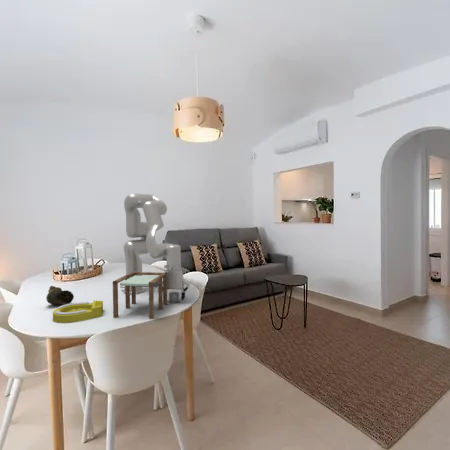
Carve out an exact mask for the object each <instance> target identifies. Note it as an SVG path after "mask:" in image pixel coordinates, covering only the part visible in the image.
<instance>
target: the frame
mask: <svg viewBox="0 0 450 450" xmlns="http://www.w3.org/2000/svg"><path fill="white" fill-rule="evenodd" d="M135 275H142V276H158V277H156V278H155V279H153V280H152V281H150V282H149V287H148V314H149V316H148V318H149V319H150V320H153V319H154V318H155V303H154V302H155V301H154V300H155V298H154V297H155V296H154V295H155V294H154V288H155V287H153V284H155V283H156V282H157V281H158V287H157V288H158V291H157V292H158V297H157V298H158V299H157V300H158V310H163V307H164V306H167V305H168V289H167V273H165V272H152V271H149V272H147V271H142V272H131V273H129V274H127V275H126V274H125V275H123V276H121V277H119V278H117V279H115V280H113V281H112V308H113V309H112V314H113V315H112V316H113V317H112V318H117V319H118V317H119V284H120V283H121V282H123V281H125V280H127V279H129V278H130V277H133V276H135ZM162 281H163V284H162ZM162 286H163V290H162ZM131 292H132V294H130V286H125V293H124V295H125V309H130V308H131V305H136V303H137V300H136V299H137V294H136V287H134V286H131Z"/></svg>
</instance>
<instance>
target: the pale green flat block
mask: <svg viewBox="0 0 450 450" xmlns="http://www.w3.org/2000/svg"><path fill="white" fill-rule="evenodd" d="M158 276H159V275H142V276H133V277H131V278H129V279H127V280H123V281H121V282H119V286H120V285H125V286H134V287H143V288H149V282H150V281H152V280H153V279H155V278H156V277H158ZM153 287H154V288H158V281H157V282H156V283H155V284H153Z"/></svg>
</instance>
